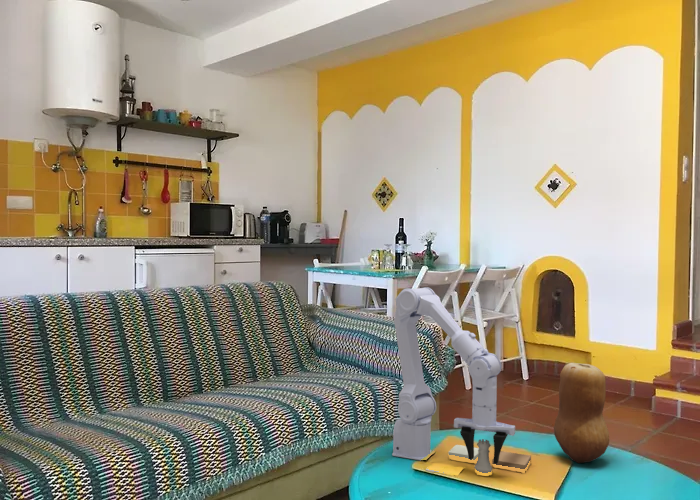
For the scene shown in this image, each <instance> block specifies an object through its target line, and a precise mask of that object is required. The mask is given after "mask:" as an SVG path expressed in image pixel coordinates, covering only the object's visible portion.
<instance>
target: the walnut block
mask: <svg viewBox="0 0 700 500" xmlns="http://www.w3.org/2000/svg"><path fill="white" fill-rule="evenodd" d="M530 460H531V461H532V455H529V454H522V453H517V452H510V451H504V450H501V451H500V455H499V461H498V463H497V464H496V465H502V466H508V467H515V468H520V469H525V468H526V467H527V465H528V463H529V461H530ZM492 464H494V457H493V459H492V463H491V465H492Z"/></svg>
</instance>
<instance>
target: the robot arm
mask: <svg viewBox="0 0 700 500" xmlns="http://www.w3.org/2000/svg"><path fill="white" fill-rule="evenodd" d="M394 300H395V306H396V309H395V313H394V327H395V334H396V341H397V348H398V349H397V350H398V355H399V362H400V367H401V376H402V381H403V387H402V389H401V390H400V391H399V394H398V406H397V413H398V415H399V418H398V419H397V420H396V421H395V423H394V425H393V438H392V441H393V442H392V447H393V448H392V454H391V456H392V457H399V458H404V459H409V460H410V459H411V460H416V461H421V459H423V458H424V457H426V456H427V455H428V454H430V452H431V451H432V450H431V434H432V433H431V432H432V431H431V428H432V427H431V426H432V425H431V423H432V419H433V418H432V416H434V414H436V411H437V402H436V400H435V398H434V397H433V393H432V389H431V388H430V386H428V385H427V384H426V383H425V378H424V371H423V365H422V359H421V352H420V346H419V340H418V333H417V331H418V330H417V325H416V324H417V323H418V322H419V320H420V319H421V318H422V316H424V317H429V318H431V319H432V320H433V322H435V323H436V324H437V325H438V326H439V328H441V330H443V331H444V333H446V334H447V335H448V337H450V338H451V342H450V343H451V344H450V345H451V346H452V347H451V348H453V349H454V350H455V351H456V353H457V354H458V355H459V356H460V357H461V359H462V360H463V361H464V362H465V364H466V365H467V366H468V367H467V370H468V373H469V376H470V377H471V379H472V380H471V381H472V382H471V383H472V403H471V404H472V408H471V409H472V412H471V414H472V415H471V416H472V417H471V418H464V417H455V418H454V420H453V428H456V429H458V428H460V429H461V430H460V431H459V432H460V436H461V438H462V440H463V443H464V444H465V445H464V446H466V448H467V451H468V456H469V459H470V460H472V459H473V458H474V447H475V444H474V443H475V442H474V441H475V433H476V430H477V431H483V432H492V433H494V435H493V450H494V451H493V458H494V464H497V463H498V461H499V455H500V451H502V449H503V448H502V447H503V445H504V443H505V440H506V439H507V437H508V435H509V436H512V437H514V436H515V435H516V425H514V424H513V425H512V424H507V423H504V422H500V421H497V401H498V400H497V395H498V394H497V393H498V391H497V389H498V388H497V387H498V385H497V383H498V382H497V381H498V379H497V378H498V375H499V374H500V372H501V370H502V364H501V360H500V358H498V356H497V355H496V354H495V353H491V352H489V350H488V349H487V348H485V347H484V346H483V345H482V344H481V343H480V342H479V341H478V340H477V338H476V336H477V335H476V334H475V333H474V332H471V331H469V330H463V329H462V328H461V327H460V325H459V324H458V323H457V322H456V320H455V319H454V318H453V316H452V314H451V313H450V312H449V311H448V310H447V309H446V307H445V306H444V305H443V303H442V302H441V298H440V296H438V295H437V294H436V292H435V291H434V290H433V289H432V288H431V287H428V286H426V287H425V286H424V287H418V288H417V287H415V288H409V287H408V288H404V289H402V290H401V291H400V292H399V294H397V296H396V297H395V299H394Z"/></svg>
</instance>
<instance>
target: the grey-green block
mask: <svg viewBox="0 0 700 500" xmlns="http://www.w3.org/2000/svg"><path fill="white" fill-rule="evenodd" d="M478 450H479V447H475V446H474V458H473V460H475V459H476V458H477V457H478V456H479V452H478ZM447 453H448V454H449V455H455V456H459V457H465V458H468V459H469V456H468V451H467V448H466V445H461V444H455V445H454V446H453V447H452V448H450V450H449V451H448V452H447Z"/></svg>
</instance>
